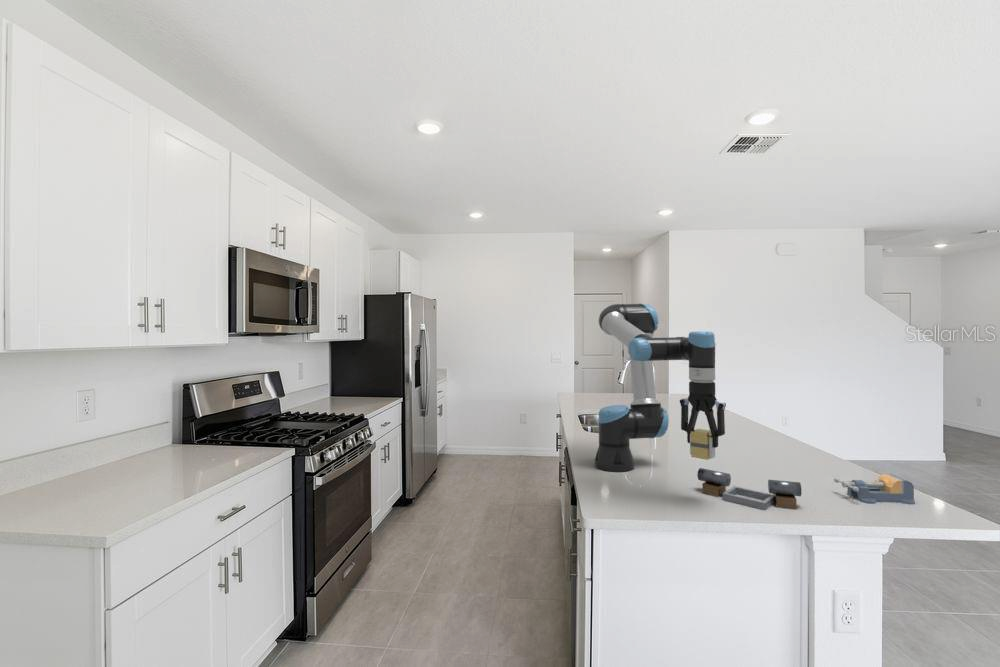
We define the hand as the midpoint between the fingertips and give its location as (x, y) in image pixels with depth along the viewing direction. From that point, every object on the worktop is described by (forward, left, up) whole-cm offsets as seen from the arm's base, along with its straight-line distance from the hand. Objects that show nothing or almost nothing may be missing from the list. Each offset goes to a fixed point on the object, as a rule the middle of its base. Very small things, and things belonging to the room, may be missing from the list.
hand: (702, 455), depth 144 cm
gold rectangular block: (0, 0, 0) cm, 0 cm away
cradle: (+10, +9, -14) cm, 19 cm away
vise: (+37, +38, -14) cm, 54 cm away
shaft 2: (+19, +13, -14) cm, 27 cm away
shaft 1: (0, +9, -14) cm, 16 cm away
